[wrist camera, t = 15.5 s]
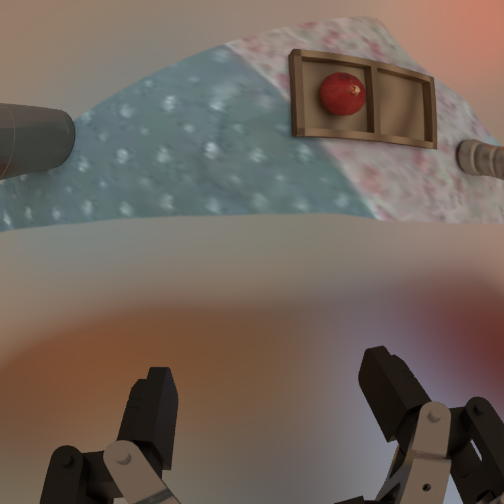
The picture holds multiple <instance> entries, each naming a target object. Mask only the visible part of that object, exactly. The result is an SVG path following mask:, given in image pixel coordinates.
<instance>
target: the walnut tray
mask: <svg viewBox="0 0 504 504" xmlns="http://www.w3.org/2000/svg"><path fill="white" fill-rule="evenodd" d="M289 72H290V92H291V118H292V136H298V137H326V138H343V139H356V140H367V141H377V142H386V143H394V144H402V145H409V146H415V147H422V148H429V149H437V113H436V97H435V86H434V77H431V76H428V75H425V74H422V73H418V72H415V71H412V70H408V69H405V68H401V67H398V66H394V65H390V64H386V63H382V62H378V61H373V60H369V59H364V58H359V57H353V56H348V55H341V54H335V53H328V52H320V51H311V50H300V49H293V50H292V52H291V53H290V54H289ZM336 72H344V73H349V74H351V75H353V76H356V77H357V78H358V79H359V80H360V81H361V82H362V84H363V86H364V88H365V91H366V100H365V104H364V105H363V107H362V108H361V109H360V111H358V112H356V113H354V114H352V115H348V116H340V115H337V114H334V113H332V112H330V111H329V110H328V109H327V108H326V107H325V106H324V104H323V103H322V101H321V97H320V89H321V84H322V83H323V81H324V80H325V78H326V77H327V76H329V75H331V74H333V73H336Z"/></svg>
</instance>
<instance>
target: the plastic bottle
mask: <svg viewBox="0 0 504 504" xmlns="http://www.w3.org/2000/svg"><path fill="white" fill-rule="evenodd" d="M458 159H459V163H460V165H461V167H462V168H463V170H464V171H465V172H467V173H469V174H471V175H477V176H482V175H484V176H491V177H496V178H499V179H501V180H504V147H500V146H494V145H490V144H486V143H483V142H481V141H478V140H475V139H471V140H466V141H464V142H463V143H462V144H461V146H460V148H459V151H458Z"/></svg>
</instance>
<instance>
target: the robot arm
mask: <svg viewBox="0 0 504 504" xmlns="http://www.w3.org/2000/svg"><path fill="white" fill-rule="evenodd" d="M74 139H75V130H74V124H73V121H72V119H71V117H70V116H69V115H68V114H67V113H66V112H64V111H62V110H57V109H50V108H44V107H35V106H26V105H15V104H3V103H0V180H3V179H7V178H11V177H15V176H19V175H23V174H27V173H31V172H36V171H41V170H45V169H50V168H54V167H57V166H59V165H60V164H62V163H63V162H64V161H65V160H66V158H67V157H68V156H69V154H70V152H71V150H72V147H73V144H74ZM358 380H359V385H360V387H361V389H362V392H363V394H364V396H365V398H366V400H367V402H368V404H369V405H370V408H371V410H372V412H373V414H374V416H375V418H376V420H377V422H378V424H379V426H380V428H381V430H382V432H383V434H384V437H385V439H386V441H387V442H390V441H394V440H397V441H398V443H399V444H398V446H397V448H396V451H395V454H394V457H393V460H392V463H391V466H390V469H389V472H388V475H387V478H386V480H385V482H384V484H383V486H382V488H381V490H380V491H379V493H378V494H377V496H376V499H375V501H374V500H364V498H363V496H359V497H356V498H353V499H349V500H345V501H342V502H338V503H334V504H443V500H444V496H445V492H446V488H447V483H448V479H449V474H451V476H452V478H453V480H454V482H455V485H456V487H457V490H458V492H459V494H460V497H461V499H462V501H463V504H504V424H503V422H502V420H501V419H500V417H499V416H498V414H497V413H496V411H495V410H494V408H493V407H492V406H491V404H490V403H489V402H488V401H487V400H486V399H484V398H482V397H473V398H471V399H470V400H469V401H468V402H467V404H466V405H465V406H464V407H457V408H447V407H446V406H445V405H444V404H442V403H440V402H432V401H431V399H430V398H429V397H428V395H427V394H426V392H425V390H424V389H423V388H422V386H421V385H420V383H419V382H418V380H417V379H416V378H415V377H414V375H413V373H412V372H411V371H410V370H409V368H408V366H407V365H406V363H405V362H404V361H403V360H402V359H400V358H399V357H397V356H396V355H390V353H389V352H388V351H387V349H386V348H385V347H384V346H378V347H373V348H368V349H366V350H365V353H364V356H363V360H362V364H361V367H360V371H359V375H358ZM177 410H178V393H177V389H176V386H175V383H174V380H173V377H172V373H171V370H170V368H169V367H151V368H150V369H149V372H148V376H147V379H139V380H138V381H137V382H136V383H135V384H134V386H133V387H132V388H131V392H130V395H129V400H128V402H127V405H126V408H125V412H124V415H123V420H122V423H121V426H120V430H119V434H118V437H117V440H116V441H115V442H113V443H111V444H110V445H109V446H108V447H107V448H106V449H105V450H103V451H99V452H88V453H81V452H80V451H79V450H78V449H77V448H75V447H73V446H68V445H66V446H61V447H59V448H57V449H56V450H55V451H54V452H53V454H52V456H51V460H50V463H49V467H48V470H47V474H46V478H45V482H44V486H43V491H42V495H41V499H40V504H113V501H114V498H121V497H124V498H125V499H126V501H127V502H128V504H181V503H180V502H179V500H178V499H177V498H176V497H175V496H174V494H173V493H172V492H171V491H170V489H169V488H168V487H167V486H166V484H165V483H164V482H163V480H162V470H171V465H172V454H173V445H174V436H175V427H176V419H177ZM472 439H473V441H474V443H475V445H476V446H477V448H478V450H479V452H480V454H481V457H482V461H481V460H480V458H479V457H478V455H477V453H476V451H475V449H474V447H473V445H472V443H471V442H470V441H471V440H472Z"/></svg>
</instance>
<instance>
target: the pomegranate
mask: <svg viewBox="0 0 504 504" xmlns="http://www.w3.org/2000/svg"><path fill="white" fill-rule="evenodd" d="M320 97H321V101H322V103H323V104H324V106H325V107H326V108H327V109H328V110H329V111H330V112H332V113H334V114H337V115H340V116H348V115H352V114H354V113H356V112H358V111H360V109H361V108H362V107H363V105H364V104H365V100H366V91H365V88H364V86H363V84H362V82H361V81H360V80H359V79H358V78H357V77H356V76H353V75H351V74H349V73H344V72H336V73H333V74H331V75H329V76H327V77H326V78H325V80H324V81H323V83H322V84H321V89H320Z"/></svg>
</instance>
